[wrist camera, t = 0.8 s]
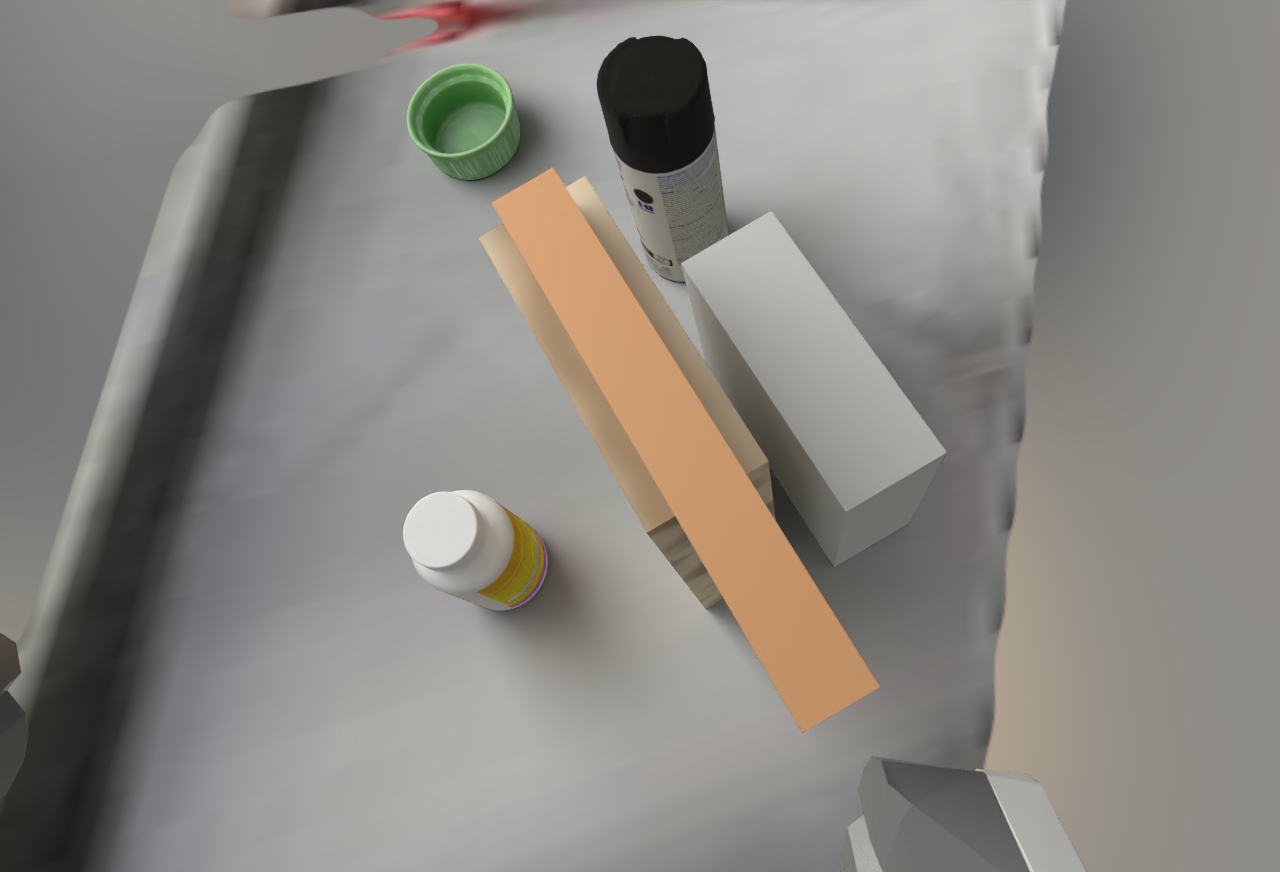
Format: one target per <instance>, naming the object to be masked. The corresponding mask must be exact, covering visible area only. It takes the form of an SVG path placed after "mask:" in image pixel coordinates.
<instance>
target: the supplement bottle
mask: <svg viewBox="0 0 1280 872" xmlns="http://www.w3.org/2000/svg"><path fill="white" fill-rule="evenodd" d="M403 538H404V543H405V547H406V549H407V551H408V553H409V554H410V556H411V557H412V560H413V563H414V566H415V568H416V570H417V572H418V573H419V574H420V576H421V577H422V578H423V579H424V580H425V581H426V582H427V583H428V584H429V585H431V586H432V587H434V588H436V589H437V590H440V591H442V592H445V593H448V594H450V595H453V596H456V597H458V598H461V599H463V600H466V601H468V602H471V603H473V604H476V605H478V606H481V607H484V608H487V609H491V610H497V611H504V610H510V609H514V608H516V607H519V606H521V605H523V604H525V603H526V602H527V601H529V600H530V599H531V598H532V597H533V596H534V595H535V594H536V593H537V592H538V590H539V589H540V587H541V586H542V584H543V582H544V579H545V577H546V573H547V567H548V557H547V551H546V548H545V545H544V543H543V541H542V539H541V537H540V536H539V534H538V533H537V532H536V531H535V530H534V529H533V528H532V527H530V526H529V525H528V524H527V523H525V522H524V521H522V520H521V519H520V518H518V517H517V516H515V515H514V514H513V513H511V512H510V511H509V510H507V509H506V508H505V507H503V506H502V505H500V504H499V503H498V502H497V501H495V500H494V499H492V498H491V497H489V496H487V495H485V494H483V493H480V492H476V491H470V490H460V491H454V492H437V493H433V494H430V495H428V496H426V497H424V498H423V499H421V500H420V501H419V502H417V503H416V504H415V505H414V507H413V508H412V509H411V511H410V512H409V514H408V516H407V518H406V521H405V524H404V530H403Z"/></svg>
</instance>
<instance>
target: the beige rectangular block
mask: <svg viewBox="0 0 1280 872" xmlns="http://www.w3.org/2000/svg"><path fill="white" fill-rule="evenodd" d="M566 189H567V190H568V192H569V194H570V195H571V197H572V198H573V200H574V201H575V203H576V205H577V206H578V208H579V209H580V211H581V213H582V214H583V216H584V217H585V219H586V221H587V222H588V224H589V225H590V227H591V228H592V230H593V232H594V233H595V235H596V236H597V238H598V240H599V241H600V243H601V244H602V246H603V248H604V249H605V251H606V252H607V254H608V255H609V257H610V259H611V260H612V262H613V263H614V265H615V267H616V268H617V270H618V271H619V273H620V275H621V276H622V278H623V279H624V281H625V282H626V284H627V286H628V287H629V289H630V290H631V292H632V294H633V295H634V297H635V298H636V300H637V302H638V303H639V305H640V306H641V308H642V309H643V311H644V313H645V314H646V316H647V317H648V319H649V321H650V322H651V324H652V325H653V327H654V329H655V330H656V332H657V333H658V335H659V336H660V338H661V340H662V341H663V343H664V344H665V346H666V348H667V349H668V351H669V352H670V354H671V356H672V357H673V359H674V360H675V362H676V363H677V365H678V367H679V368H680V370H681V371H682V373H683V375H684V376H685V378H686V379H687V381H688V383H689V384H690V386H691V387H692V389H693V390H694V392H695V394H696V395H697V397H698V398H699V400H700V402H701V403H702V405H703V406H704V408H705V410H706V411H707V413H708V414H709V416H710V417H711V419H712V421H713V422H714V424H715V425H716V427H717V429H718V430H719V432H720V433H721V435H722V437H723V438H724V440H725V441H726V443H727V444H728V446H729V448H730V449H731V451H732V452H733V454H734V456H735V457H736V459H737V460H738V462H739V464H740V465H741V467H742V468H743V470H744V471H745V473H746V475H747V476H748V478H749V479H750V481H751V483H752V484H753V486H754V487H755V489H756V491H757V492H758V494H759V495H760V497H761V498H762V500H763V502H764V503H765V505H766V506H767V508H768V510H769V511H770V513H771V514H772V516H773V518H774V519H775V511H774V502H773V494H772V485H771V477H770V468H769V461H768V459H767V458H766V456H765V455H764V453H763V452H762V450H761V448H760V447H759V445H758V444H757V442H756V441H755V439H754V438H753V436H752V434H751V433H750V431H749V430H748V428H747V427H746V425H745V424H744V422H743V420H742V419H741V417H740V416H739V414H738V413H737V411H736V410H735V408H734V407H733V405H732V403H731V402H730V400H729V399H728V397H727V396H726V394H725V393H724V391H723V389H722V388H721V386H720V385H719V383H718V382H717V380H716V379H715V377H714V375H713V374H712V372H711V371H710V369H709V368H708V366H707V365H706V363H705V361H704V360H703V358H702V357H701V355H700V354H699V352H698V351H697V349H696V347H695V346H694V344H693V343H692V341H691V340H690V338H689V337H688V335H687V333H686V332H685V330H684V329H683V327H682V326H681V324H680V323H679V321H678V319H677V318H676V316H675V315H674V313H673V312H672V310H671V309H670V307H669V306H668V304H667V302H666V301H665V299H664V298H663V296H662V295H661V293H660V292H659V290H658V288H657V287H656V285H655V284H654V282H653V281H652V279H651V278H650V276H649V274H648V273H647V271H646V270H645V268H644V267H643V265H642V264H641V262H640V260H639V259H638V257H637V256H636V254H635V253H634V251H633V250H632V248H631V246H630V245H629V243H628V242H627V240H626V239H625V237H624V236H623V234H622V232H621V231H620V229H619V228H618V226H617V225H616V223H615V222H614V220H613V218H612V217H611V215H610V214H609V212H608V211H607V209H606V208H605V206H604V204H603V203H602V201H601V200H600V198H599V197H598V195H597V194H596V192H595V191H594V189H593V187H592V186H591V184H590V183H589V181H588V180H587V178H586V177H585V176H584V177H582V178H581V179H579V180H577V181H575V182H574V183H572V184H570V185H569V186H567V187H566ZM479 239H480V241H481V243H482V245H483V246H484V248H485V250H486V252H487V253H488V255H489V257H490V259H491V260H492V262H493V264H494V266H495V267H496V269H497V271H498V273H499V274H500V276H501V278H502V280H503V281H504V283H505V285H506V287H507V288H508V290H509V292H510V294H511V295H512V297H513V299H514V301H515V302H516V304H517V306H518V308H519V310H520V311H521V313H522V315H523V317H524V318H525V320H526V322H527V324H528V325H529V327H530V329H531V331H532V332H533V334H534V336H535V338H536V339H537V341H538V343H539V345H540V346H541V348H542V350H543V352H544V353H545V355H546V357H547V359H548V360H549V362H550V364H551V366H552V367H553V369H554V371H555V373H556V374H557V376H558V378H559V380H560V381H561V383H562V385H563V387H564V388H565V390H566V392H567V394H568V395H569V397H570V399H571V401H572V403H573V404H574V406H575V408H576V410H577V411H578V413H579V415H580V417H581V418H582V420H583V422H584V424H585V425H586V427H587V429H588V431H589V432H590V434H591V436H592V438H593V439H594V441H595V443H596V445H597V446H598V448H599V450H600V452H601V453H602V455H603V457H604V459H605V460H606V462H607V464H608V466H609V467H610V469H611V471H612V473H613V474H614V476H615V478H616V480H617V481H618V483H619V485H620V487H621V489H622V490H623V492H624V494H625V496H626V497H627V499H628V501H629V503H630V504H631V506H632V508H633V510H634V511H635V513H636V515H637V517H638V518H639V520H640V522H641V524H642V525H643V527H644V529H645V531H646V532H647V534H648V535H649V536H650V538H651V539H652V540H653V542H654V543H655V544H656V545H657V547H658V548H659V549H660V551H661V552H662V553H663V554H664V556H665V557H666V558H667V560H668V561H669V562H670V563H671V565H672V566H673V567H674V569H675V570H676V571H677V573H678V574H679V575H680V576H681V578H682V579H683V580H684V582H685V583H686V584H687V585H688V587H689V588H690V589H691V591H692V592H693V593H694V594H695V596H696V597H697V598H698V600H699V601H700V602H701V603H702V605H703V606H704V607H705V609H707V608H708V607H710V606H712V605H713V604H715V603H717V602H718V601H720V600H722V599H724V598H723V597H722V595H721V593H720V592H719V590H718V588H717V586H716V585H715V583H714V581H713V580H712V578H711V576H710V574H709V573H708V571H707V569H706V568H705V566H704V564H703V563H702V561H701V559H700V557H699V556H698V554H697V552H696V551H695V549H694V547H693V545H692V544H691V542H690V540H689V539H688V537H687V535H686V534H685V532H684V530H683V528H682V527H681V525H680V523H679V522H678V520H677V518H676V517H675V515H674V513H673V511H672V510H671V508H670V506H669V505H668V503H667V501H666V499H665V498H664V496H663V494H662V493H661V491H660V489H659V488H658V486H657V484H656V482H655V481H654V479H653V477H652V476H651V474H650V472H649V470H648V469H647V467H646V465H645V464H644V462H643V460H642V459H641V457H640V455H639V453H638V452H637V450H636V448H635V447H634V445H633V443H632V442H631V440H630V438H629V436H628V435H627V433H626V431H625V430H624V428H623V426H622V424H621V423H620V421H619V419H618V418H617V416H616V414H615V413H614V411H613V409H612V407H611V406H610V404H609V402H608V401H607V399H606V397H605V395H604V394H603V392H602V390H601V389H600V387H599V385H598V384H597V382H596V380H595V378H594V377H593V375H592V373H591V372H590V370H589V368H588V367H587V365H586V363H585V361H584V360H583V358H582V356H581V355H580V353H579V351H578V349H577V348H576V346H575V344H574V343H573V341H572V339H571V338H570V336H569V334H568V332H567V331H566V329H565V327H564V326H563V324H562V322H561V320H560V319H559V317H558V315H557V314H556V312H555V310H554V309H553V307H552V305H551V303H550V302H549V300H548V298H547V297H546V295H545V293H544V292H543V290H542V288H541V286H540V285H539V283H538V281H537V280H536V278H535V276H534V274H533V273H532V271H531V269H530V268H529V266H528V264H527V263H526V261H525V259H524V257H523V256H522V254H521V252H520V251H519V249H518V247H517V245H516V244H515V242H514V240H513V239H512V237H511V235H510V234H509V232H508V230H507V228H506V227H505V225H504V223H503V224H502V225H500V226H498V227H496V228H495V229H493V230H491V231H489V232H488V233H486V234H484V235H483V236H481V237H479ZM775 521H776V520H775Z"/></svg>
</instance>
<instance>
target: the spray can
mask: <svg viewBox="0 0 1280 872" xmlns="http://www.w3.org/2000/svg"><path fill="white" fill-rule="evenodd" d="M597 91H598V97H599V100H600V104H601V107H602V111H603V115H604V118H605V122H606V126H607V130H608V134H609V138H610V142H611V145H612V147H613V151H614V154H615V157H616V160H617V164H618V167H619V171H620V174H621V177H622V180H623V184H624V187H625V190H626V193H627V197H628V200H629V203H630V206H631V210H632V213H633V216H634V219H635V223H636V226H637V229H638V232H639V235H640V239H641V242H642V246H643V249H644V252H645V255H646V257H647V259H648V261H649V263H650V265H651V267H652V268H653V269H654V270H655V271H656V272H657V273H658V274H659V275H660V276H661V277H663V278H666V279H668V280H671V281H674V282H685V278H684V274H683V270H682V266H681V263H682V262H684V261H686V260H687V259H689V258H691V257H693V256H694V255H696V254H698V253H699V252H701V251H703V250H705V249H706V248H708V247H710V246H711V245H713V244H715V243H717V242H718V241H720V240H722V239H723V238H725V237H727V236H728V227H727V220H726V210H725V203H724V196H723V187H722V180H721V171H720V164H719V155H718V147H717V140H716V131H715V124H714V122H715V116H714V113H713V107H712V101H711V95H710V89H709V82H708V76H707V68H706V63H705V61H704V59H703V56H702V54H701V53H700V51H699V50H698V49H697V48H696V46H695V45H694V44H693V43H692V42H690V41H689V40H687V39H685V38H681V39H673V38H670V37H665V36H650V37H643V38H640V39H638V40H637V39H636V38H635V37H632V38H628V39H627V40H625V41H624V42H622V43H619V44H618V45H617V46H616V48H615V49H613V50H612V51H611V52H610V53H609V54H608V56H607V57H606V58H605V59H604V61H603V63H602V65H601V68H600V70H599V73H598V78H597Z"/></svg>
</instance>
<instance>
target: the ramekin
mask: <svg viewBox="0 0 1280 872" xmlns="http://www.w3.org/2000/svg"><path fill="white" fill-rule="evenodd" d="M407 125H408V130H409V133H410V135H411V138H412V139H413V141H414V142H415V144H416V145H417V146H418V147H419V148H420V149H421V150H423V151H424V152H425V153H426V154H427V155H428V156H429V157H430V158H431V160H432V161H433V162H434V163H435V164H436V165H437V167H438V168H439V169H440V170H441V171H443V172H444V173H445V174H447V175H449V176H451V177H454V178H457V179H462V180H476V179H480V178H484V177H487V176H489V175H492V174H494V173H495V172H497V171H498V170H500V169H501V168H502V167H504V166H505V165H506V164H507V163H508V162H509V161H510V159H511V158H512V157H513V156H514V154H515V152H516V150H517V148H518V145H519V142H520V136H521V129H520V123H519V119H518V116H517V113H516V110H515V106H514V99H513V94H512V91H511V88H510V86H509V84H508V82H507V81H506V79H505V78H504V77H503V76H502V75H501V74H500V73H498V72H497V71H496V70H494V69H492V68H490V67H488V66H485V65H481V64H473V63H467V64H458V65H453V66H450V67H447V68H445V69H443V70H440V71H438V72H437V73H435V74H433V75H432V76H431V77H429V78H428V79H427V80H426V81H425V82H424V83H423V84H422V85H421V86H420V87H419V88H418V89H417V91H416V92H415V94H414V95H413V97H412V99H411V101H410V104H409V107H408V112H407Z"/></svg>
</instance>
